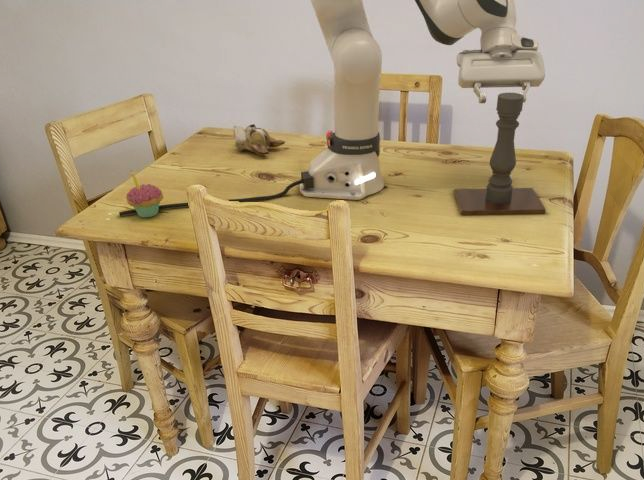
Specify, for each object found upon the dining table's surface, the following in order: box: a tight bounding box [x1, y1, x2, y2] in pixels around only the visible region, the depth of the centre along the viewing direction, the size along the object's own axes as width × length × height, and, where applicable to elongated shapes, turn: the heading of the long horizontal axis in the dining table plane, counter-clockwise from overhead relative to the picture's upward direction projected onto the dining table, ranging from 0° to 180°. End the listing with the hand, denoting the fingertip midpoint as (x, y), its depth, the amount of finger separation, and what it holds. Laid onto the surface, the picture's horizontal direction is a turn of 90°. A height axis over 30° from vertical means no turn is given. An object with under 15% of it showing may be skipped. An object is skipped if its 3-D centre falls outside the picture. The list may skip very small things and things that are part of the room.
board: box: [453, 187, 546, 216], centre depth 150 cm, size 20×13×1 cm, turn 89°
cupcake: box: [126, 169, 164, 218], centre depth 146 cm, size 9×8×12 cm
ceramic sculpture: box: [233, 124, 286, 156], centre depth 183 cm, size 11×9×15 cm
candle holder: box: [486, 92, 524, 204], centre depth 142 cm, size 6×6×25 cm
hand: (502, 101), depth 143 cm, fingers open, 8 cm apart
